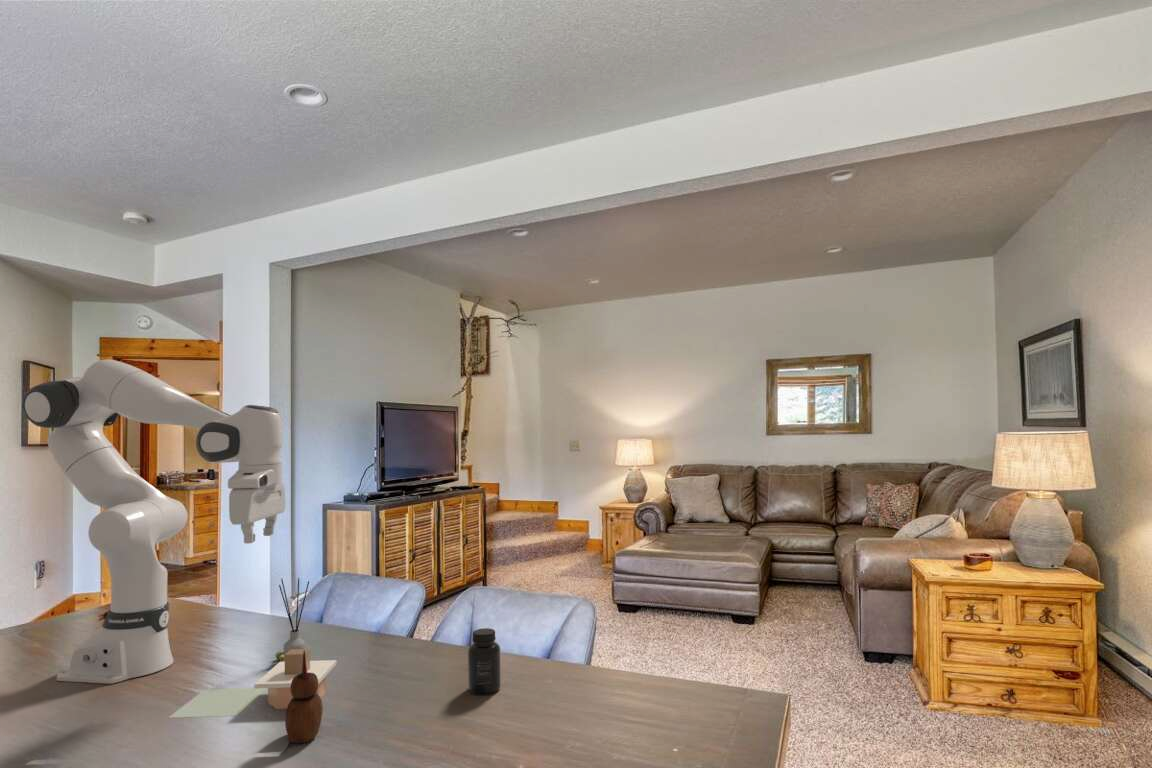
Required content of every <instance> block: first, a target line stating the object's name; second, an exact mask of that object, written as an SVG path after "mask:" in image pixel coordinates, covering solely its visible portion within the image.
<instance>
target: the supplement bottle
mask: <svg viewBox="0 0 1152 768" xmlns="http://www.w3.org/2000/svg"><path fill="white" fill-rule="evenodd" d="M472 631H473V632H472V638H471V639H472V640H471V641H472V644H470V645H469V647H468V650H467V672H468V673H467V675H468V677H467V679H468V681H467V682H468V683H467V684H468V690H469V691H468V692H470V693H471V694H474V695H479V696H486V695H491V694H493V693H497V692H498V691H499V689H500V688H501V686H502V685H501V683H502V682H501V681H502V680H501V675H502V674H501V646H500V645H499V643H497V642H496V638H497V637H496V630H495V629H494V628H478V629H475V630H472Z"/></svg>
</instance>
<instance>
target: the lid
mask: <svg viewBox="0 0 1152 768" xmlns="http://www.w3.org/2000/svg"><path fill="white" fill-rule="evenodd" d="M304 650H305V657H306V669H307V673H308V672H309V673H314V674H315V675H316V676H317V678H318V684H319V683H320V682H321V681H322V680H323V679H324V678H325V676H326V677H327V675H328V674H329V673H330V672H331V671H332V670H333V669H334V667H336V665H337V664H338V661H337V659H334V660H333V659H332V660H331V659H329V660H311V648H305V649H291V650H290V651H288V652H287V653H286V654H285V662H284V661H279V662H278V663H276V665H275V666H274V667H272V668H271V669H270V670H268V672H266V673H265V674H264V675H263V676H261V678H260V679H259V680H257V681H256V682H255V683H254V685H253V688H266V689H268V688H287V687H291V682H292V680H293V678H294V677H295V676H297V675H299V674H301V673H302V665H303V652H304ZM325 679H326V678H325Z"/></svg>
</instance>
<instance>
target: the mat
mask: <svg viewBox="0 0 1152 768" xmlns="http://www.w3.org/2000/svg"><path fill="white" fill-rule="evenodd" d="M266 689H267V688H254V687H252V688H248V687H247V688H225V689H224V688H223V689H222V688H221V689H220V688H219V689H217V688H216V689H215V688H213V689H203V690H202V691H201V692H200V693H198V694H197V695H196V696H194V697H193V698H191V699H190V700H189V701H188V702H186V703H185V704H184V705H183V706H181V707H180V708H179V709H177V710H176V711H175V712H173V713H172V714H171V715H169V716H168V719H174V718H175V719H177V718H178V719H179V718H208V717H209V718H210V717H213V718H214V717H234V716H235V717H237V716H239V715H240V714H241V713H242V712H243V711H244V710H245V709H246V708H247V707H249V705H250V704H251V703H253V702H254V701H255V700H256V699H257V698H258V697H259V696H260V695H262V693H263V692H264V691H265V690H266Z"/></svg>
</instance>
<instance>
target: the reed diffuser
mask: <svg viewBox="0 0 1152 768" xmlns="http://www.w3.org/2000/svg"><path fill="white" fill-rule="evenodd" d="M280 581H281V584H279V585H278V587H279V590H280V593H281V596H282V600H283V604H284V608H285V609H286V613H287V617H288V621H289V623H290V626H291V630H290V631H289V632H290V634H289V638H288V640H287V641H285V643H284V644H283V649H282V650H278V651H277V652H276V653H275V658H276V660H278V659H280V660H279V662H282V661H281V660H283V662H285V654H286V653H287V652H288V651H290V650H291V649H306V643H305V640H303V639H301V637H300V631H299V627H300V621H301V618H302V613H303V609H304V605H305V601H306V598H307V597H306V596H307V592H308V589H309V583H310V581H307V584H306V588H305V593H304V596H303V601H302V605H301V610H300V614H299V598H300V596H299V595H300V578H297V594H296V595H297V596H296V597H297V598H296V618H295V619H296V621H295V629H294V625H293V620H292V615H291V612H290V611H291V610H290V608H289V603H288V598H287V594H286V590H285V585H284V581H283V578H280ZM281 585H282V587H281ZM282 589H283V591H282ZM283 592H284V593H283ZM298 616H299V617H298ZM298 618H299V619H298Z"/></svg>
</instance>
